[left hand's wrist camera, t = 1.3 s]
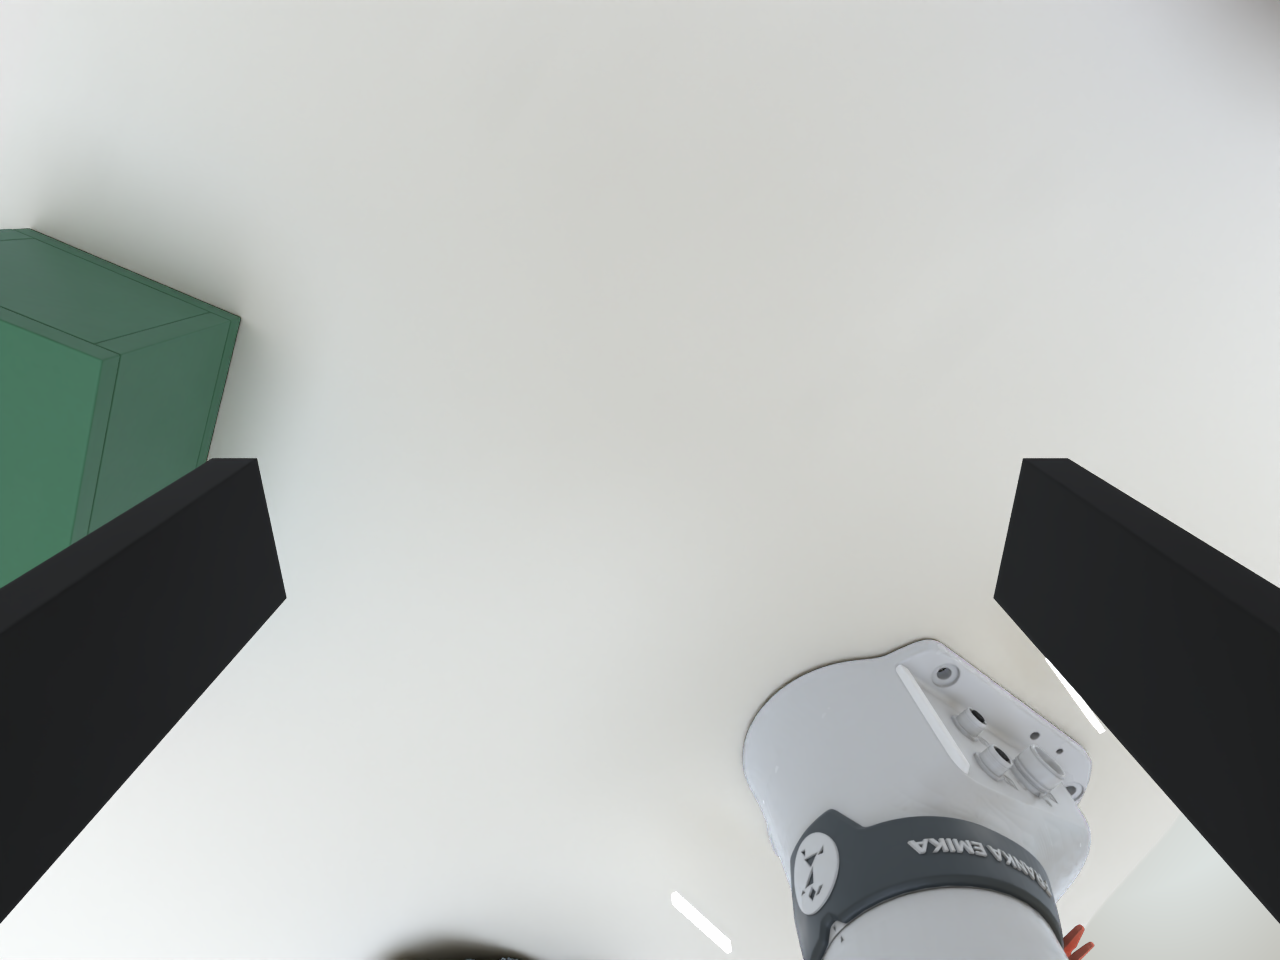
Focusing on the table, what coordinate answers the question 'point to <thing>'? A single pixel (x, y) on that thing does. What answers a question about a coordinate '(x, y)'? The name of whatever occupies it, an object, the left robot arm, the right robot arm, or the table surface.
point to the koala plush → (501, 959)
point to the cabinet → (95, 392)
